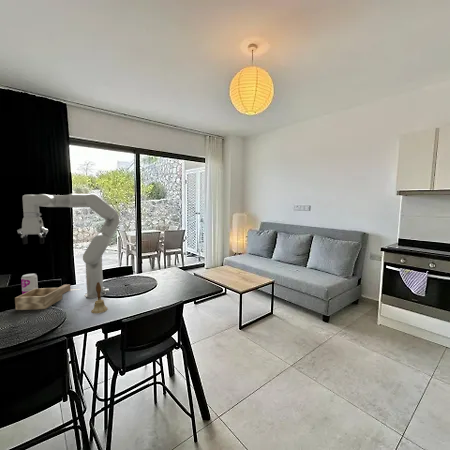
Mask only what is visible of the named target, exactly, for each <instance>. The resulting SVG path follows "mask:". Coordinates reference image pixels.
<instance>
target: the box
mask: <svg viewBox="0 0 450 450" xmlns="http://www.w3.org/2000/svg"><path fill="white" fill-rule="evenodd" d="M61 300H63V294H62V288H58V287H43V288H42V287H41V288H39V287H38V288H37V289H33V290H31V291H29V292H26V293H24V294H20V295H18V296H16V297H14V304H15V305H14V306H15V311H24V310H26V311H27V310H46V309H48V308H49V307H51V306H53V305H54V304H56V303H57V302H59V301H61Z"/></svg>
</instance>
